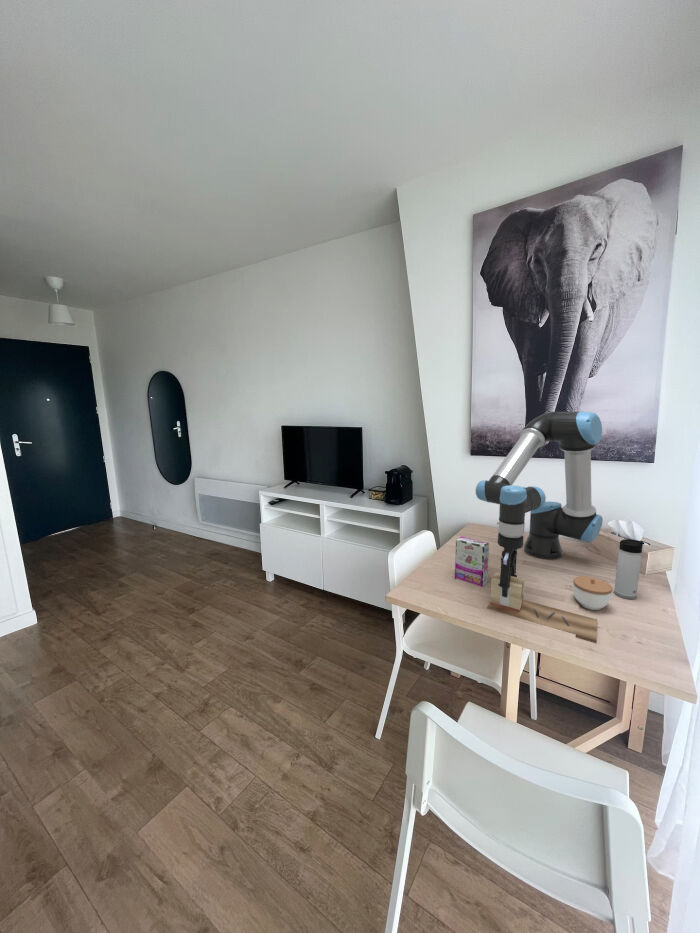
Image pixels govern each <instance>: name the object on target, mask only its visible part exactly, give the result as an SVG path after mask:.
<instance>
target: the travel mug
mask: <svg viewBox="0 0 700 933" xmlns="http://www.w3.org/2000/svg"><path fill="white" fill-rule="evenodd" d="M643 545H645V542H644V541H643V540H637V539H630V538H629V539H628V538H626V539H621V540H620V542H619V546H618V553H617V554H618V556H617V562H616V563H617V564H616V572H615V580H614V590H613V592H614V594H615V595H616V596H617V597H620V598H622V599H626V600H635V599H637V597H638V596H637V595H638V589H639V588H638V587H639V581H640V580H639V579H640V572H641V571H640V570H641V564H642V557H643V547H644V546H643Z"/></svg>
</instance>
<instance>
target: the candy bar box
mask: <svg viewBox="0 0 700 933" xmlns="http://www.w3.org/2000/svg"><path fill="white" fill-rule="evenodd" d="M489 549H490V542H488V541H483V540H480V539H475V538H469V537H465V536H460V537H459V538H457V539H455V557H454V558H455V565H454V568H455V569H454V570H455V571H454V580H456V579H457V580H461V581H464V582H466V583H470V584H472V585H476V586H480V587H484V586H485V585H486V584H487V583H488V577H489V575H488V574H489V556H490V555H489V554H490V553H489V552H490V550H489Z"/></svg>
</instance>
